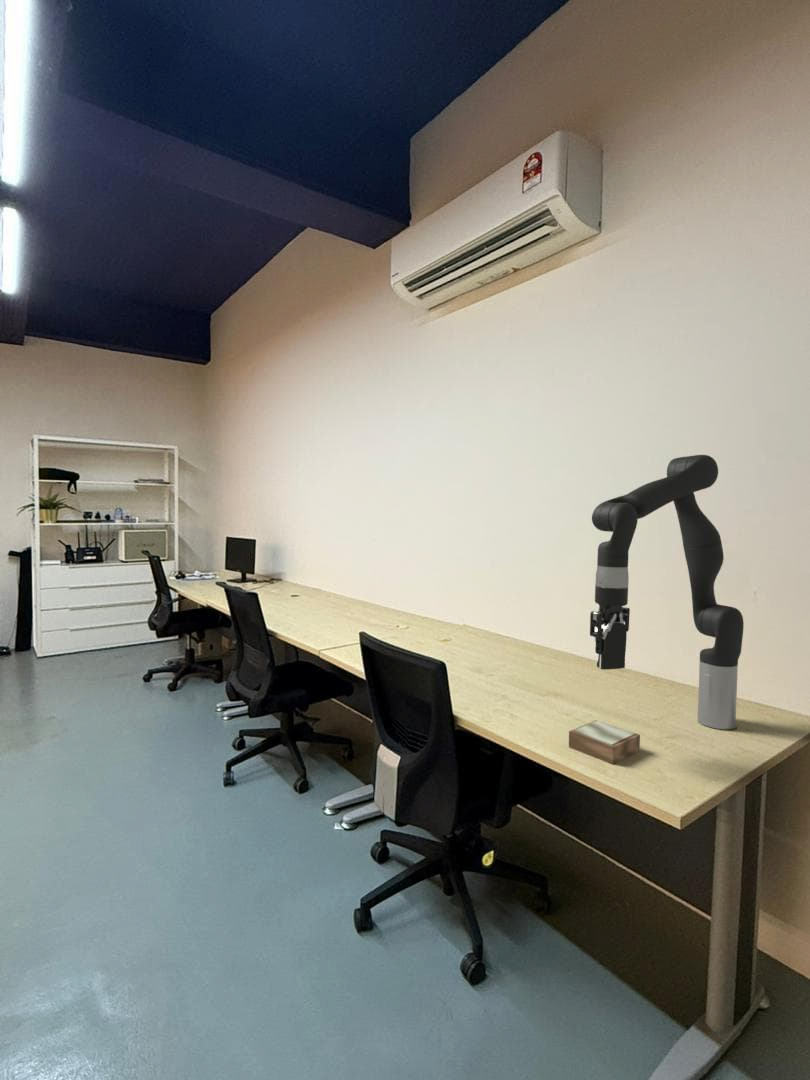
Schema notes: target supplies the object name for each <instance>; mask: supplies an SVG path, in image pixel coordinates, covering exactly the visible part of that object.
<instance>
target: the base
mask: <svg viewBox="0 0 810 1080" xmlns="http://www.w3.org/2000/svg"><path fill="white" fill-rule="evenodd" d="M640 742H641V734H639V733H635V732H633V731H630V730H626V729H624V728H621V727H617V726H616V725H612V724H608V723H605V722H602V721H599V720H597V719H596V720H594V721H591V722H588V723H586V724H584V725H581V726H579V727H576V728H574V729H571V730H569V731H568V748H570V749H572V750H575V751H578V752H580V753H583V754H586V755H588V756H591V757H593V758H595V759H598V760H601V761H603V762H606V763H608V764H612V765H614V764H617V763H618V762H621V761H622V760H624V759H627V758H628V757H630V756H632V755H635V753H638V752H640V747H641V746H640V744H641V743H640Z"/></svg>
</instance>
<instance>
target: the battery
mask: <svg viewBox="0 0 810 1080" xmlns="http://www.w3.org/2000/svg"><path fill="white" fill-rule="evenodd" d="M602 626H607V624H602ZM603 630H604V629H602V633H603ZM627 638H628V637H627V629H626V626H625V623H624V624H623V623H621V622H614V623H613V625H612V627H611V630H610V631H609V632H608V633H607V635H606V638H605V639H606V648H605V654H603V655H601V654H598V659H597V663H596V667H597V669H600V670H604V671H605V670H606V671H607V670H619V669H625V668H626V653H627V652H626V649H627ZM594 639H595V640H594V641H595V643H596V638H595V637H594Z"/></svg>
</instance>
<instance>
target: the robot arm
mask: <svg viewBox="0 0 810 1080" xmlns="http://www.w3.org/2000/svg"><path fill="white" fill-rule="evenodd" d="M718 476H719V467H718V464H717V461H716V460H715V458H713V457H712V456H711V455H707V454H695V455H688V456H681V457H676V458H675V457H674V458H673V459H671V460H670V461H669V463H668V465H667V467H666V477H664V478H660V479H656V480H654V481H651V482H648V483H646V484H643V485H641V486H639V487H637V488H635V489H633V490H632V491H630V492H629V493H627V494H623V495H621V496H617V497H615V498H611V499H608V500H604V501H602V502H601V503H599V504H598V505H597V506H596V507H595V508H594V509H593V512H592V514H591V523H592V524H593V526H594V528H596V529H597V530H599V531H600V532H608V533H609V532H611V537H610V538H609V540H607V541H606V540H605V541H602V542H600V543H599V544H598V548H597V558H596V559H597V563H596V565H597V566H596V573H595V583H594V585H595V586H594V588H595V589H594V602H595V604H598V611H593V610H592V611H591V612H590V616H589V617H590V618H589V636H590V637H594V639H595V638H596V642H595V648H594V649H595V651H594V652H595V653H596V654H598V655H599V654H601V655H603V654H605V648H606V639H605V638H606V635H607V633H608V632H609V631H610V630H611V627H612V625H613V623H614V622H621V623H623V624H625V626H626V629H627V632H629V629H630V616H631V615H630V613H631V611H630V610H631V609H630V607H626V606H627V605H628V601H629V600H628V599H629V598H628V597H629V579H630V577H629V551H630V548H631V544H632V541H633V538H634V534H635V532H636V530H637V525H638V521H639V520H638V519H643V518H645V517H646V516H649V515H650V514H652V513H653V512H655V511H657V510H659V509H660V508H662V507H664V506H666V505H668V504H670V503H671V502H673V504H674V508H675V511H676V514H677V519H678V524H679V529H680V534H681V539H682V547H683V552H684V557H685V562H686V566H687V572H688V576H689V578H688V579H689V583H690V589H691V590H690V591H691V602H692V617H693V621H694V625H695V626H694V627H696V630H697V631H698V633H700V634H702V635H704V636H708V637H712V638H715V639H714V645H713V646H712V647H711V648H710V647H709V648H704V649H701V650H700V651H699V663H698V664H699V669H698V672H699V673H698V695H697V697H698V699H697V701H698V703H697V722H698V723H700V724H702V725H703V726H705V727H709V728H712V729H719V730H732V729H735V728H736V726H737V725H736V722H737V721H736V720H737V718H736V717H737V696H738V694H737V693H738V669H739V665H738V664H739V658H740V656H741V653H742V649H743V648H742V647H743V637H744V635H743V634H744V625H745V624H744V617H743V613H742V612H741V611H740V610H739V609H738V608H736V607H734V606H729V605H728V606H727V605H723V604H718V603H717V600H716V595H715V582H716V579H717V577H718V574H719V573H720V571H721V570H722V567H723V564H724V556H725V555H724V550H723V542H722V539H721V538H722V537H721V535H720V533H719V531H718V529H717V527H716V526H715V525H714V524H713V523H712V521H711V520H710V519H709V518H708V517H707V516H706V515H705V514H704V512H703V511H702V509H701V508H700V506H699V505H698V502H697V500H696V496H695V493H696V492H699V491H703V490H706V489H708V488H710V487H712V486H714V484H715V483H716V481H717V479H718ZM602 624H607V626H602ZM595 628H596V629H595ZM602 629H604V630H603V633H602Z"/></svg>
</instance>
